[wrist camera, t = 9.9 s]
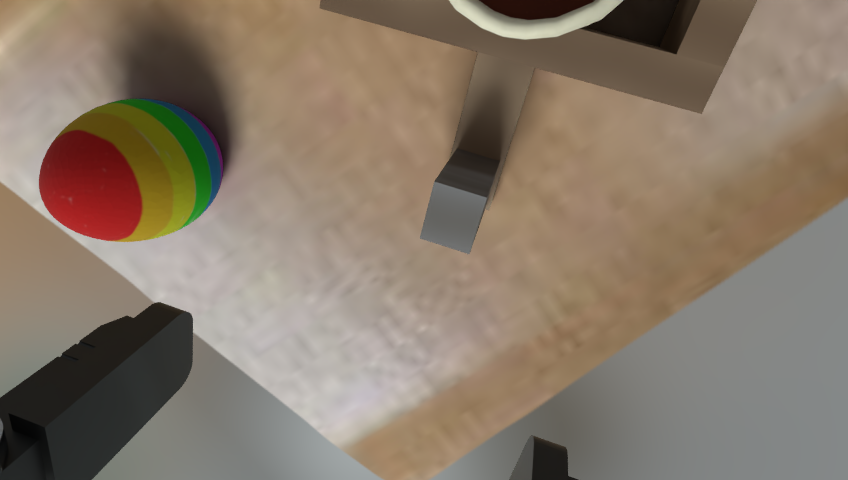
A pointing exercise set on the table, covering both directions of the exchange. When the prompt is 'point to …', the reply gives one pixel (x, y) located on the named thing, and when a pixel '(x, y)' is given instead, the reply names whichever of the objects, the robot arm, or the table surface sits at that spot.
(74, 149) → the decorative egg
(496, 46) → the frame
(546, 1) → the character mug
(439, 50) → the table surface
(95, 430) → the robot arm
